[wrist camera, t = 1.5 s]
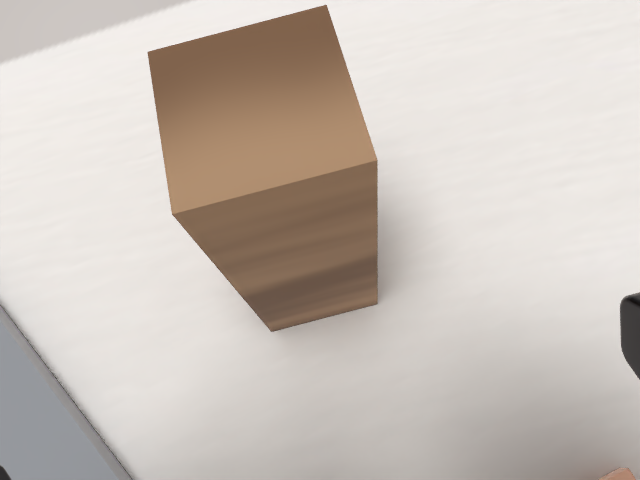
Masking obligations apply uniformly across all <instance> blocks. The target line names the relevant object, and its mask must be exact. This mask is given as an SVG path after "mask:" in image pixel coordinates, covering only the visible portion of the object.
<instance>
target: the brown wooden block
mask: <svg viewBox="0 0 640 480" xmlns="http://www.w3.org/2000/svg"><path fill="white" fill-rule="evenodd" d="M148 58H149V65H150V71H151V78H152V85H153V91H154V98H155V104H156V111H157V118H158V124H159V131H160V138H161V144H162V151H163V157H164V164H165V171H166V177H167V184H168V190H169V197H170V204H171V210H172V215H173V216H174V217H175V218H176V219H177V221H178V222H179V223H180V224H181V225H182V226H183V228H184V229H185V230H186V231H187V232H188V234H189V235H190V236H191V237H192V238H193V239H194V241H195V242H196V243H197V244H198V245H199V247H200V248H201V249H202V250H203V251H204V253H205V254H206V255H207V256H208V257H209V258H210V260H211V261H212V262H213V263H214V264H215V266H216V267H217V268H218V269H219V270H220V271H221V273H222V274H223V275H224V276H225V277H226V279H227V280H228V281H229V282H230V283H231V284H232V286H233V287H234V288H235V289H236V290H237V292H238V293H239V294H240V295H241V296H242V297H243V299H244V300H245V301H246V302H247V303H248V305H249V306H250V307H251V308H252V309H253V310H254V312H255V313H256V314H257V315H258V316H259V318H260V319H261V320H262V321H263V322H264V323H265V325H266V326H267V327H268V328H269V329H270V331H271V332H273V331H277V330H280V329H284V328H288V327H292V326H296V325H299V324H303V323H307V322H311V321H315V320H318V319H322V318H326V317H330V316H334V315H337V314H341V313H345V312H349V311H353V310H356V309H360V308H364V307H368V306H372V305H375V304H377V158H376V155H375V151H374V148H373V145H372V142H371V139H370V136H369V133H368V130H367V127H366V124H365V121H364V118H363V115H362V112H361V109H360V106H359V103H358V100H357V96H356V93H355V90H354V87H353V84H352V81H351V78H350V75H349V72H348V69H347V66H346V63H345V60H344V57H343V54H342V51H341V48H340V45H339V42H338V38H337V35H336V32H335V29H334V26H333V23H332V20H331V17H330V14H329V11H328V8H327V5H324V6H320V7H316V8H312V9H309V10H305V11H301V12H297V13H293V14H290V15H286V16H282V17H278V18H274V19H271V20H267V21H263V22H259V23H256V24H252V25H248V26H244V27H240V28H237V29H233V30H229V31H225V32H221V33H218V34H214V35H210V36H206V37H202V38H199V39H195V40H191V41H187V42H183V43H180V44H176V45H172V46H168V47H164V48H161V49H157V50H153V51H149V52H148Z"/></svg>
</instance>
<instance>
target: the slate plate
mask: <svg viewBox="0 0 640 480" xmlns="http://www.w3.org/2000/svg"><path fill="white" fill-rule="evenodd" d="M0 465H1V466H3V467H4V469H5V470H6V471H7V473H8V475H9V476H10V478H11V479H12V480H132V479H131V477H130V476H129V475H128V473H127V472H126V471H125V469H124V468H123V467H122V466H121V464H120V463H119V462H118V460H117V459H116V458H115V456H114V455H113V454H112V452H111V451H110V450H109V448H108V447H107V446H106V444H105V443H104V442H103V440H102V439H101V438H100V436H99V435H98V434H97V432H96V431H95V430H94V428H93V427H92V426H91V424H90V423H89V422H88V421H87V419H86V418H85V417H84V415H83V414H82V413H81V411H80V410H79V409H78V407H77V406H76V405H75V403H74V402H73V401H72V399H71V398H70V397H69V395H68V394H67V393H66V391H65V390H64V389H63V387H62V386H61V385H60V383H59V382H58V381H57V379H56V378H55V377H54V376H53V374H52V373H51V372H50V370H49V369H48V368H47V366H46V365H45V364H44V362H43V361H42V360H41V358H40V357H39V356H38V354H37V353H36V352H35V350H34V349H33V348H32V346H31V345H30V344H29V342H28V341H27V340H26V338H25V337H24V336H23V334H22V333H21V332H20V330H19V329H18V328H17V327H16V325H15V324H14V323H13V321H12V320H11V319H10V317H9V316H8V315H7V313H6V312H5V311H4V309H3V308H2V307H1V305H0Z"/></svg>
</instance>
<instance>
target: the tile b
mask: <svg viewBox="0 0 640 480" xmlns="http://www.w3.org/2000/svg"><path fill="white" fill-rule="evenodd" d="M598 480H636V479H635V477H634V476H633V474H632V473H631V471H630V470H629V468H618V469H616V470H614V471H613V472H611V473H609V474H607V475H605V476H603V477H601V478H600V479H598Z"/></svg>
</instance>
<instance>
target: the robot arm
mask: <svg viewBox="0 0 640 480" xmlns="http://www.w3.org/2000/svg"><path fill="white" fill-rule="evenodd" d="M620 326H621V348H622V352H623V354H624V357H625V359H626V361H627V362H628V364H629V365H630V367H631V368H632V370H633V371H634V372H635V374H636V375H637V377H638V378H639V379H640V292H639V293H636V294H632V295H628V296H626V297H624V298H623V299H622V301H621V304H620ZM0 480H12V479H11V478H10V476H9V475H8V473H7V471H6V470H5V469H4V467H3V466H1V465H0Z"/></svg>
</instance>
